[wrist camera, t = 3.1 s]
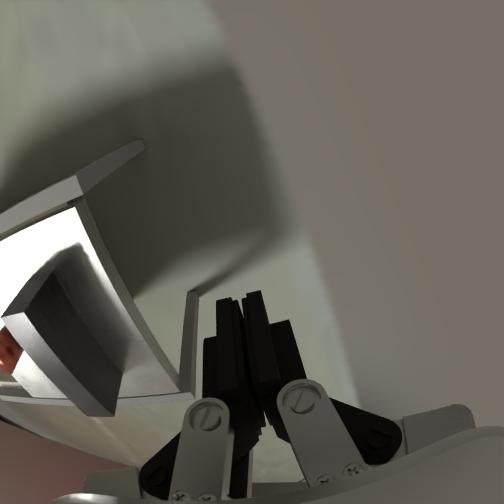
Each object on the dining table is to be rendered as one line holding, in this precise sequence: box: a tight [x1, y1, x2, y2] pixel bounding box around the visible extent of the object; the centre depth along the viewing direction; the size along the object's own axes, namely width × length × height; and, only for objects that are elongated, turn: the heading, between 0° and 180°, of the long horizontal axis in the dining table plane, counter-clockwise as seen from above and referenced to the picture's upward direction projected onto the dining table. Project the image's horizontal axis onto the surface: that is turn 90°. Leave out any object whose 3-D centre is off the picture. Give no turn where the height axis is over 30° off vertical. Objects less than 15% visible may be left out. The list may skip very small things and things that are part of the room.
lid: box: [0, 198, 181, 417], centre depth 11 cm, size 11×13×4 cm
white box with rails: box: [0, 138, 199, 406], centre depth 17 cm, size 14×22×10 cm, turn 102°
